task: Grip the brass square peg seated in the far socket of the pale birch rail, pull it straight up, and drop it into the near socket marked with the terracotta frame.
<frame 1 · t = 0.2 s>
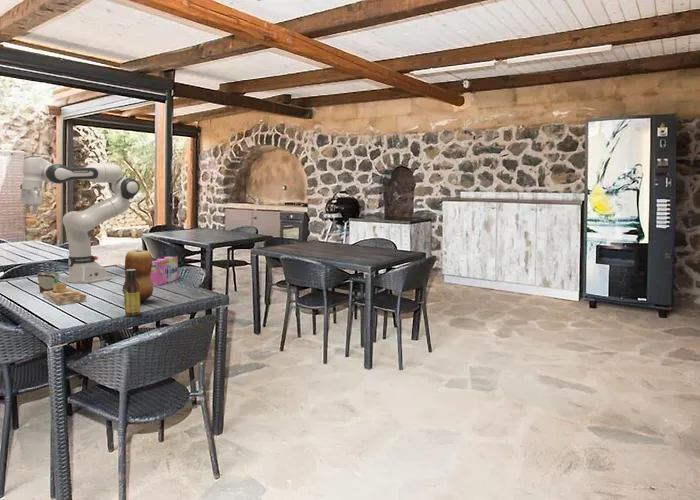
hand: (30, 213, 269), 39 cm above the table, tool pointing down, fingers open, 8 cm apart
brass peg: (60, 297, 251), resting in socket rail
gum box: (162, 282, 293), on the table
sauce bottle: (132, 315, 223), on the table
butternut squash: (138, 302, 245), on the table
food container: (52, 292, 261), on the table
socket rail: (64, 299, 247), on the table
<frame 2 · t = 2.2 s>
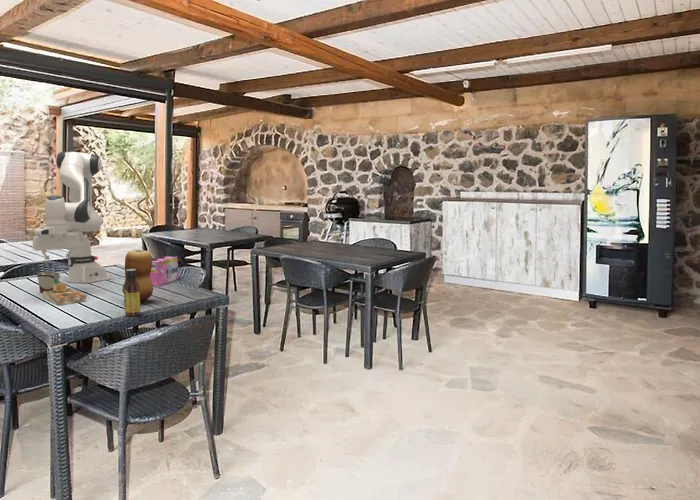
hand: (57, 258, 248), 19 cm above the table, tool pointing down, fingers open, 8 cm apart
nothing on the table moved.
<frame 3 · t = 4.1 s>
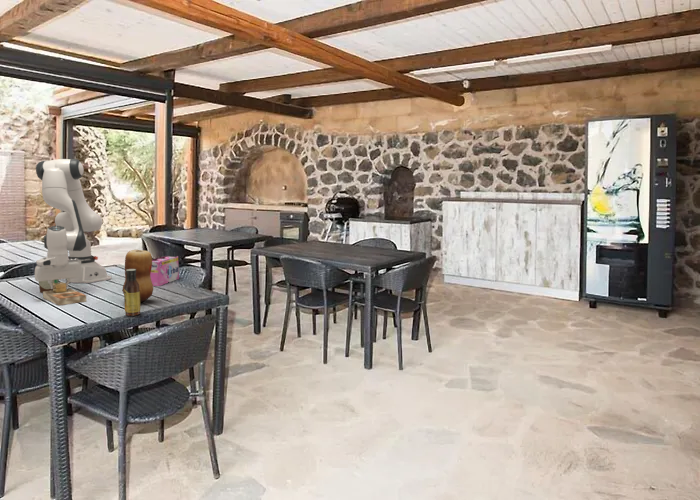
hand: (59, 288, 250), 5 cm above the table, tool pointing down, fingers closed on brass peg, 4 cm apart
brass peg: (60, 297, 251), resting in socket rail, touching gripper
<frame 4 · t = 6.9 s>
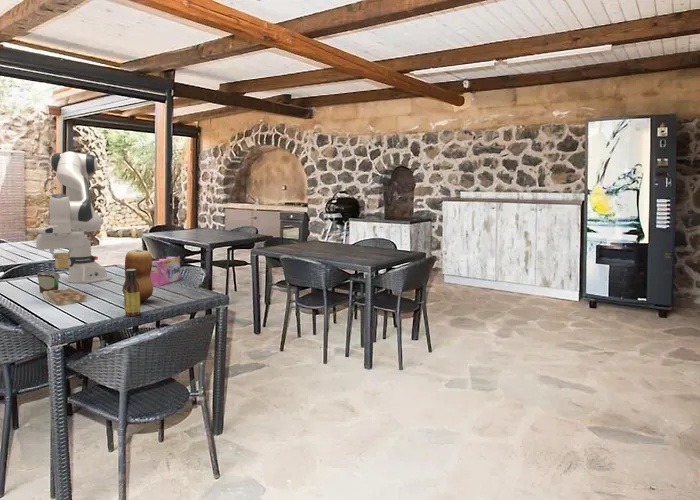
hand: (61, 258, 243), 20 cm above the table, tool pointing down, fingers closed on brass peg, 4 cm apart
brass peg: (62, 267, 244), point 16 cm above the table, touching gripper
when the fingers open (6 cm above the table, at t = 9.8 s): brass peg stays where it is, resting in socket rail.
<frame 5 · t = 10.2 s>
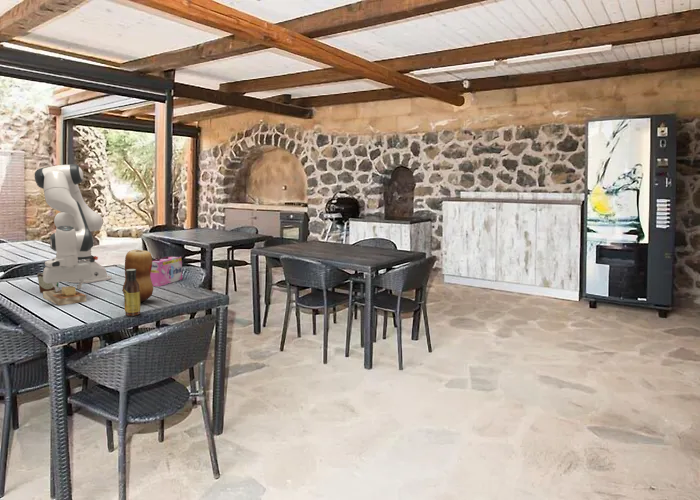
hand: (68, 290, 242), 6 cm above the table, tool pointing down, fingers open, 8 cm apart
brass peg: (69, 301, 243), resting in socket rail
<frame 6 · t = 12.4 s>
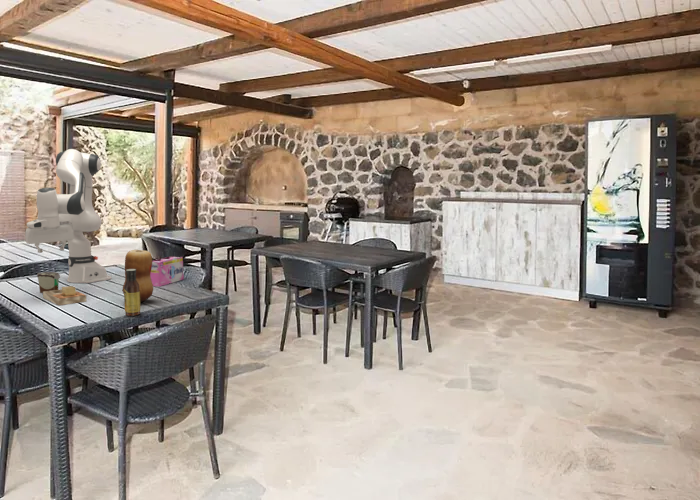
hand: (51, 251, 245), 23 cm above the table, tool pointing down, fingers open, 8 cm apart
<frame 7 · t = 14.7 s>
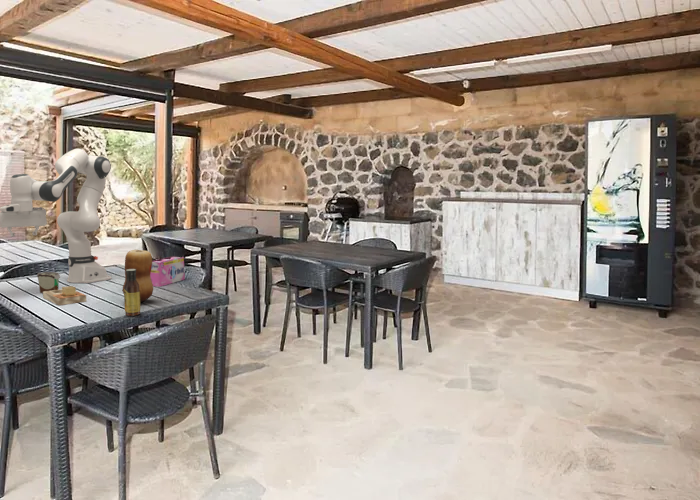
hand: (23, 235, 252), 29 cm above the table, tool pointing down, fingers open, 8 cm apart
at the end: brass peg 0.0 cm from the target spot on the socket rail, point 0.0 cm above the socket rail's base; brass peg tilted 0°; the gripper is holding nothing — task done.
